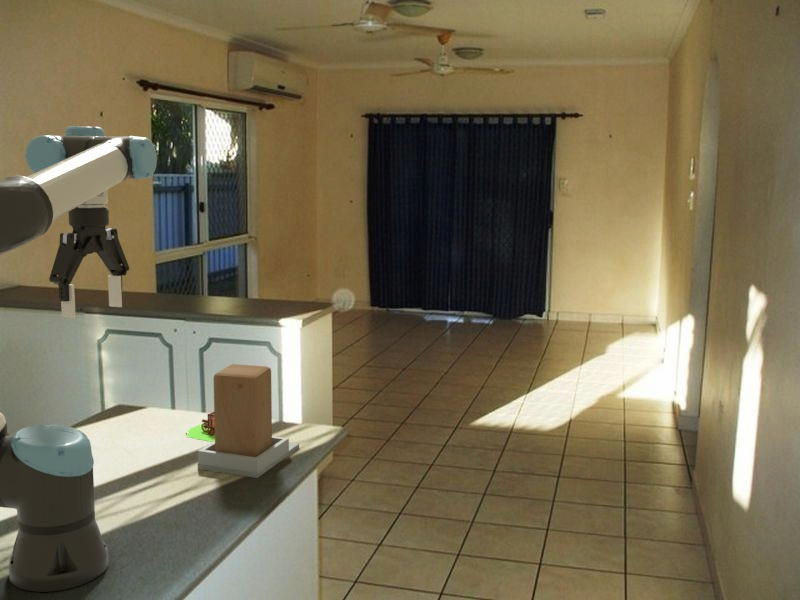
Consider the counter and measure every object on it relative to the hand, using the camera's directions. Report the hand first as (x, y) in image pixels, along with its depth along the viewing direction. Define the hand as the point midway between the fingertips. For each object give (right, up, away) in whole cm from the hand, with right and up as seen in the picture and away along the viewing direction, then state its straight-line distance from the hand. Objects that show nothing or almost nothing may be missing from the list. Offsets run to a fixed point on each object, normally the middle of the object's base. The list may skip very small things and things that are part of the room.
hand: (93, 312), depth 174 cm
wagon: (+18, -30, +38) cm, 52 cm away
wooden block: (+27, -33, +17) cm, 46 cm away
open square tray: (+28, -33, +19) cm, 48 cm away
